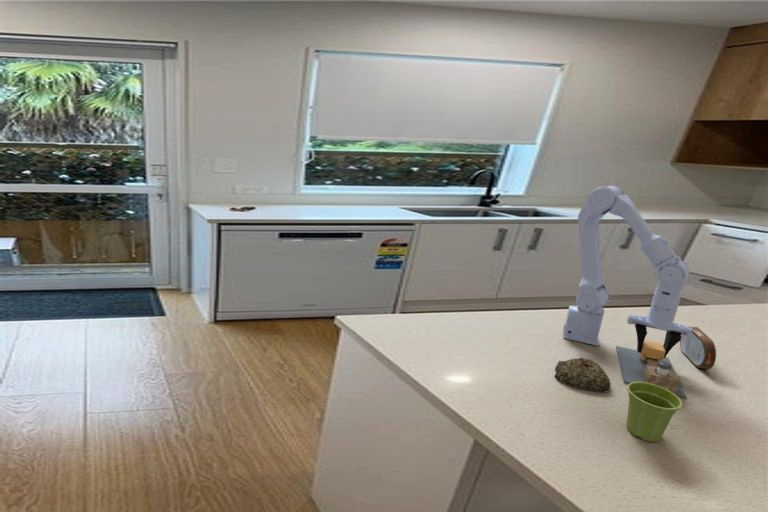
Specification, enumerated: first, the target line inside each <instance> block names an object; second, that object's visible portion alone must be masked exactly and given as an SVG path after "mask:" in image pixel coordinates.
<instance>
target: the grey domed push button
mask: <svg viewBox="0 0 768 512" xmlns="http://www.w3.org/2000/svg"><path fill="white" fill-rule="evenodd" d="M671 364H672V363H671ZM671 364H669V363H667V362H664V361H658V364H657V365H658V369H657V373H656V374H657V375H661V376H666V377H667V375H668V372H669V369H671V367H672V366H673V364H672V365H671Z"/></svg>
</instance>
